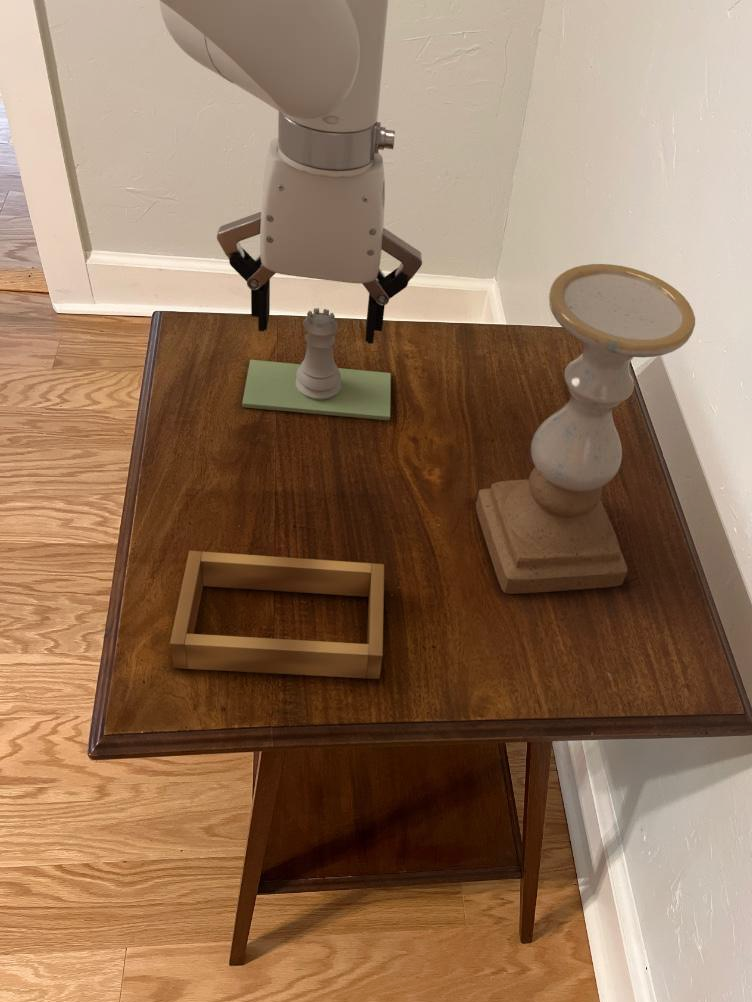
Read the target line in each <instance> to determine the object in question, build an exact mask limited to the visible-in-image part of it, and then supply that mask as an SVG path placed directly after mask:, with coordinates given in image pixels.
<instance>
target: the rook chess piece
mask: <svg viewBox="0 0 752 1002" xmlns="http://www.w3.org/2000/svg"><path fill="white" fill-rule="evenodd" d="M335 318H336V316H335V314H334V312H331V313H330V309H327V308H324V309H323V311H322V312H320V308H319V307H316V308H313V311H312V310H309V311H308V312H307V313H306V317H305V318H304V320H303V321H302V327H303V329H304V330H305V331H306V334H305V336H304V341H305V343H306V350H305V354H304V359H303V360H302V361H301V363H300V364H301V365H300V367H299V368H298V370H297V374H296V383H295V385H296V387H297V388H298V390H299V391H300V392H301V393H302V394H303V395H304V396H306V397H308V398H311V399H314V400H325V399H329V398H331V397H333V396H335V395H336V394H337V393H338V392H339V390H340V389H341V382H340V381H341V374H340V371H339V370H338V368H339V367H338V366H337V364H336V362H335V358H334V348H333V346H334V344H335V343H336V338H335V336H334V334H335V333H336V332H337V331H338V330H339V324H338V322H337V321H336V319H335Z"/></svg>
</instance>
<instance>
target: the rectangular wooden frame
mask: <svg viewBox="0 0 752 1002" xmlns="http://www.w3.org/2000/svg"><path fill="white" fill-rule="evenodd" d="M187 554H188V555H187V559H186V565H185V569H184V574H183V579H182V583H181V588H180V591H179V592H180V593H179V598H178V602H177V607H176V608H177V609H176V612H175V616H174V622H173V625H172V626H173V627H172V631H171V635H170V642H169V647H170V653H171V654H170V655H171V660H172V666H173V669H183V670H200V671H201V670H203V671H219V672H220V671H222V672H223V671H224V672H242V673H257V674H258V673H259V674H276V675H294V676H295V675H297V676H315V677H332V678H353V679H369V680H371V679H372V680H380V677H381V670H382V664H383V663H382V662H383V657H384V609H385V608H384V607H385V605H384V604H385V564H384V563H373V562H357V561H346V560H345V561H343V560H342V561H341V560H329V559H316V558H315V559H314V558H299V557H288V556H287V557H285V556H271V555H259V554H258V555H257V554H245V553H244V554H243V553H242V554H241V553H228V552H216V551H215V552H214V551H200V550H189V551H188V553H187ZM204 587H209V588H210V587H211V588H212V587H213V588H227V589H242V590H243V589H244V590H256V591H257V590H259V591H273V592H288V593H301V594H302V593H305V594H318V595H331V596H332V595H335V596H348V597H349V596H350V597H364V598H365V597H366V598H368V602H367V603H368V607H367V637H366V643H355V642H337V641H320V640H305V639H304V640H302V639H286V638H285V639H284V638H270V637H269V638H268V637H252V636H251V637H250V636H234V635H220V634H200V633H195V631H196V627H197V626H196V625H197V622H198V615H199V610H200V604H201V599H202V594H203V589H204Z"/></svg>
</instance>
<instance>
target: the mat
mask: <svg viewBox="0 0 752 1002" xmlns="http://www.w3.org/2000/svg"><path fill="white" fill-rule="evenodd" d="M300 365H301V363H293V362H292V363H291V362H279V361H272V360H271V361H269V360H259V359H250V360H249V363H248V368H247V369H248V370H247V374H246V375H247V376H246V381H245V386H244V392H243V396H242V403H241V405H242V408H244V409H245V408H247V409H256V410H257V409H258V410H268V411H279V412H292V413H302V414H312V415H313V414H314V415H324V416H334V417H336V416H337V417H346V418H357V419H368V420H378V421H379V420H380V421H391V401H392V400H391V398H392V397H391V396H392V395H391V392H392V373H391V372H383V371H374V370H363V369H353V368H344V367H343V368H341V367H337V368H338V370H339V371H340V374H341V381H340V382H341V389H340V390H339V392H338V393H337V394H336V395H335V396H333V397H331V398H329V399H325V400H314V399H311V398H308V397H306V396H304V395H303V394H302V393H301V392H300V391H299V390H298V388H297V387H296V385H295V383H296V374H297V370H298V368H299V367H300Z"/></svg>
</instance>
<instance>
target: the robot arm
mask: <svg viewBox="0 0 752 1002" xmlns="http://www.w3.org/2000/svg"><path fill="white" fill-rule="evenodd" d="M388 8H389V0H159V9H160V13H161V16H162V20H163V23H164V25H165V27H166V29H167V31H168V33H169V35H170V36H171V38H172V39H173V41H174V42H175V44H176V45H177V46H178V47H179V48H180V49H181V50H182V51H183V52H184V53H185V54H186V55H187V56H189V57H190V58H191V59H193V60H194V61H195V62H197V63H198V64H200V65H201V66H202V67H204V68H206V69H207V70H210V71H211V72H213V73H215V74H216V75H218V76H219V77H221V78H223V79H225V80H226V81H228V82H230V83H231V84H233V85H235V86H237V87H239V88H240V89H242V90H244V91H245V92H247V93H249V94H250V95H252V96H254V97H256V98H257V99H258V100H260V101H262V102H264V103H265V104H267V105H268V106H270V107H271V108H272V109H275V110H276V111H277V117H278V118H277V137H274V138H273V139H271V141H270V142H269V146H268V150H267V154H266V159H265V160H266V162H265V166H264V174H263V182H262V183H263V184H262V196H261V209H260V211H259V212H257V213H253V214H251V215H248V216H245V217H242V218H240V219H237V220H234V221H231V222H229V223H226V224H222V225H221V226H220V227H219V228H218V230H217V234H216V239H217V242H218V244H219V246H220V247H221V249H222V251H223V253H224V255H225V256H226V258H228V261H229V262H228V263H229V266H231V268H233V270H234V271H235V272H236V273H237V274H238V275H239V276H240V277H242V279H244V281H246V286H247V288H248V289H249V290H250V314H251V315H250V316H251V317H253V318H257V319H258V320H257V323H258V325H257V327H258V328H257V329H258V332H265V331H267V330H268V326H269V319H270V311H271V309H270V308H271V307H270V305H271V303H270V302H271V299H270V298H271V296H270V295H271V281H270V280H271V278H273V276H274V275H276V274H279V275H285V276H291V277H297V278H298V277H300V278H306V279H315V280H323V281H329V282H338V283H349V284H362V286H363V287H364V288H365V289H366V291H367V292H368V301H367V313H366V324H365V341H364V342H367V344H370V345H374V339H375V332H383V324H384V316H385V307H386V305H388V303H389V302H390V299H392V298H394V297H395V296H396V295H397V294H399V293H400V292H402V291H403V290H405V289H406V288H407V287H408V285H409V283H410V281H411V280H412V279H413V278H414V277H415V275H416V273H417V272H418V271H419V270H420V268H421V267H422V265H423V254H422V252H421V251H420V250H418V249H417V248H415V247H414V246H412V245H411V244H409V243H408V242H406V241H405V240H403V239H401V238H400V237H399V236H397V235H396V234H394V233H393V232H391V231H390V230H388V229H386V228H385V227H384V223H385V221H384V220H385V219H384V218H385V199H386V198H385V197H386V195H385V194H386V191H385V187H386V186H385V183H386V182H385V167H384V160H383V156H382V155H381V153H380V152H379V151H380V150H381V151H384V150H385V149H386V150H387V149H388V150H394V147H395V138H396V137H395V135H396V131H395V130H391V129H386V127H385V126H381V124H382V122H379V121H378V118H379V109H380V108H379V107H380V106H379V105H380V97H381V96H380V94H381V83H382V72H383V63H384V62H383V61H384V52H385V51H384V50H385V39H386V29H387V28H386V27H387V18H388ZM258 235H259V254H260V255H259V256H257V257H256V258H255V259H254V258H253V257H252V256H251V255H250V254H249V253H248V251H246V250H245V249H244V248H243V247H242V245H241V242H242V241H244V240H247V239H250V238H253V237H255V236H258ZM382 251H383V252H385V253H387V254H388V255H389V256H391V257H392V258H394V259H395V260H397V261H399V262H400V264H399V265H398V266H399V267H397V268H395V269H394V270H392V271H391V272H389V273H388V274H387V275H386V274H384V272H383V271H382V269H381V268H380V266H381V258H382Z"/></svg>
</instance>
